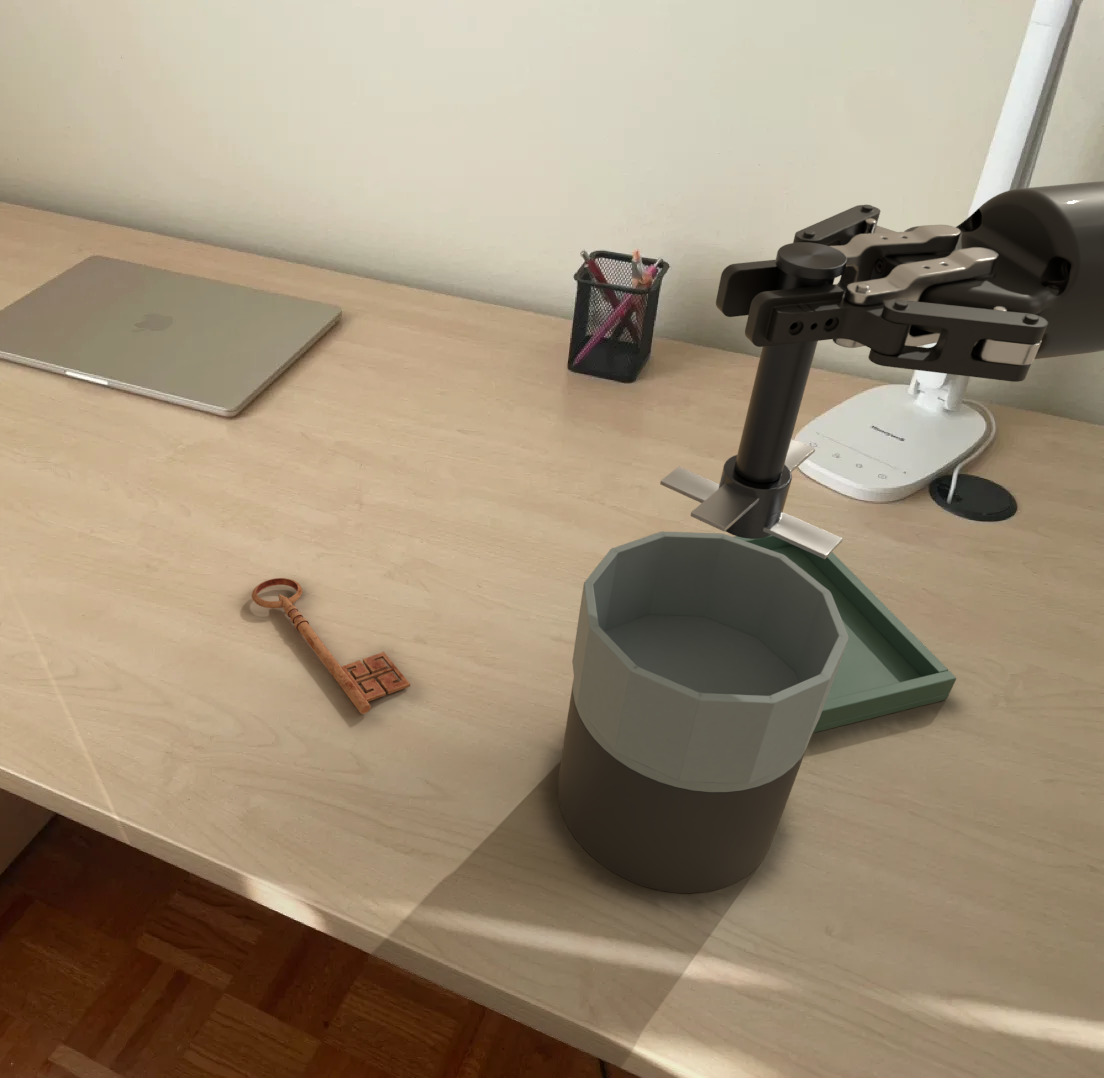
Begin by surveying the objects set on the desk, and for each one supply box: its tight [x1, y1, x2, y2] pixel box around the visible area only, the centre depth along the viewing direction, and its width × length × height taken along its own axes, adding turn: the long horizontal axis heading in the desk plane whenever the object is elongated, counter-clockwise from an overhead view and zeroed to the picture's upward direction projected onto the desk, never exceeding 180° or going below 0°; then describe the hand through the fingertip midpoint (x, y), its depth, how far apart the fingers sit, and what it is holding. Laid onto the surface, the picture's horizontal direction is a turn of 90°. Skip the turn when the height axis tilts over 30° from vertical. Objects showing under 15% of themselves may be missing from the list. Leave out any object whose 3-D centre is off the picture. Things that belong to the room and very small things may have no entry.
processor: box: [557, 531, 849, 894], centre depth 60 cm, size 13×13×16 cm
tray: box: [733, 535, 957, 734], centre depth 76 cm, size 18×14×2 cm
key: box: [251, 577, 411, 715], centre depth 76 cm, size 6×1×15 cm
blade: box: [659, 242, 847, 559], centre depth 49 cm, size 9×9×14 cm
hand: (738, 305), depth 45 cm, fingers closed on blade
